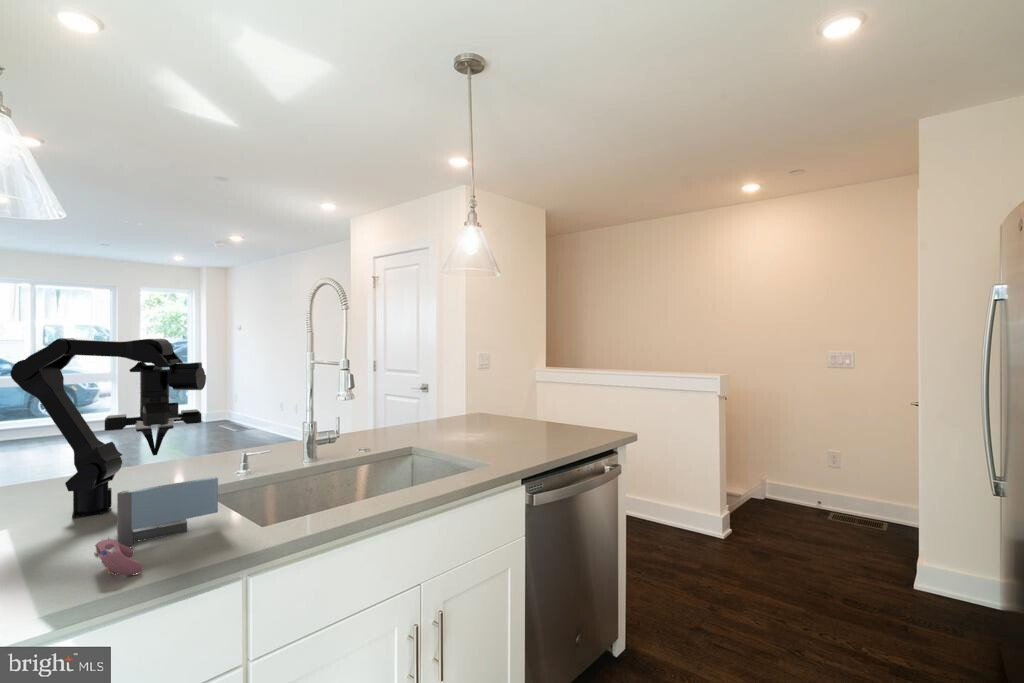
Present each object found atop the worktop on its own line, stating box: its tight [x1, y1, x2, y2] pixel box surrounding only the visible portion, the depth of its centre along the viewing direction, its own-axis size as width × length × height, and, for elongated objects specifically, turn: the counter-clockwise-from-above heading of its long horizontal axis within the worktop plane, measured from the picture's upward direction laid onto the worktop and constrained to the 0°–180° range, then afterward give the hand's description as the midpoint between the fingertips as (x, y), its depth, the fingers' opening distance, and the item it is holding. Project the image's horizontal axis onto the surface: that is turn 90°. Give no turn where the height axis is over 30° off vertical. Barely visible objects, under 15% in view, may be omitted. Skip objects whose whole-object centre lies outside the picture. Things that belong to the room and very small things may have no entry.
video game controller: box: [93, 536, 143, 576], centre depth 89 cm, size 10×5×7 cm, turn 46°
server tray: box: [133, 519, 188, 542], centre depth 111 cm, size 11×18×2 cm, turn 37°
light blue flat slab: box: [116, 476, 219, 548], centre depth 104 cm, size 17×2×11 cm, turn 133°
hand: (154, 455), depth 120 cm, fingers closed
